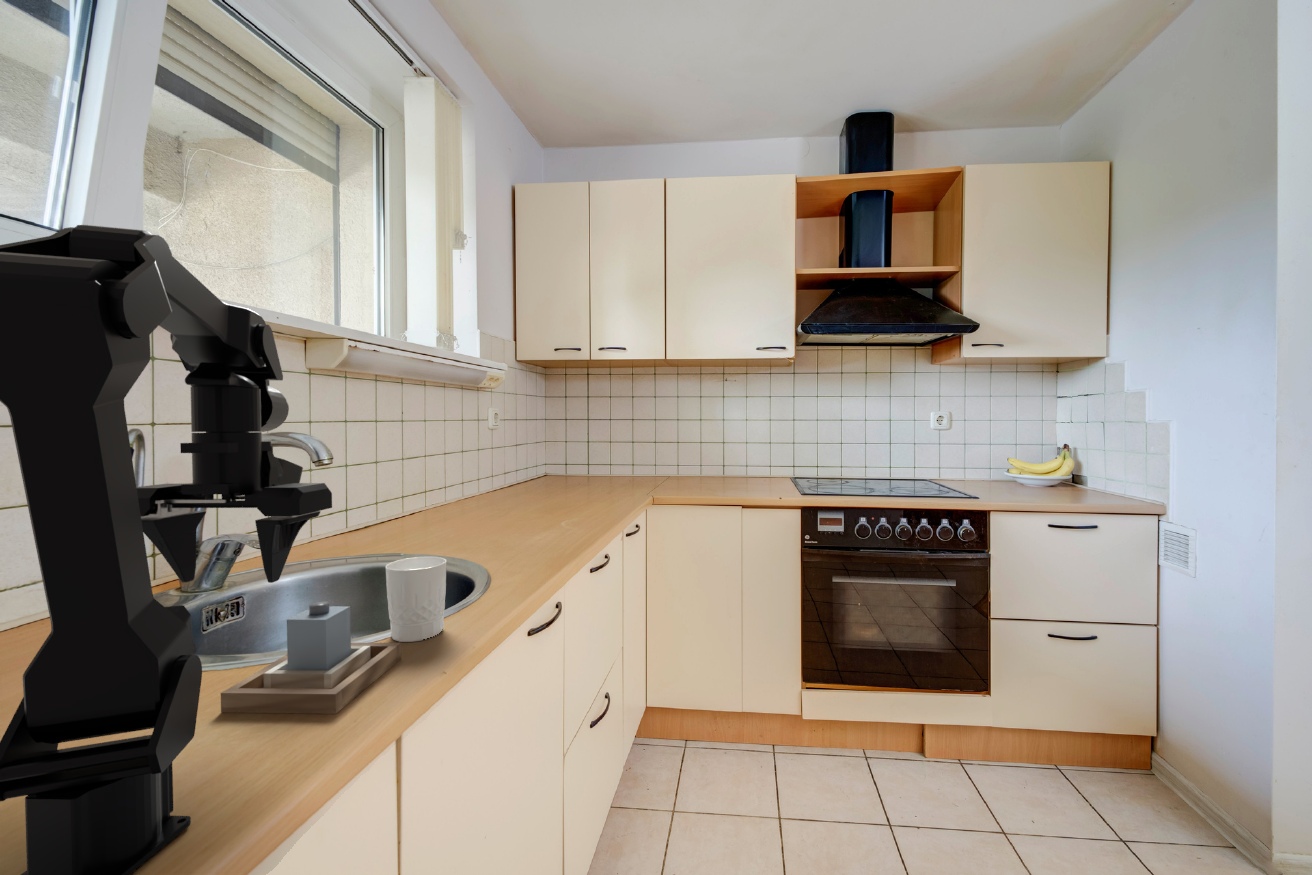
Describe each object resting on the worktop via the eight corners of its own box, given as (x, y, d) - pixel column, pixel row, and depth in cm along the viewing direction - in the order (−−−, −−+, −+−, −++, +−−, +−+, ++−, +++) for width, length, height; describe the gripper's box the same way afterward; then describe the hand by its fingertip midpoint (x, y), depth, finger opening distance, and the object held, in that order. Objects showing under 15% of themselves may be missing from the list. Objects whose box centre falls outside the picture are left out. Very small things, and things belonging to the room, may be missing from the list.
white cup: (415, 620, 81) (414, 554, 81) (459, 626, 79) (458, 558, 78) (373, 640, 74) (372, 567, 73) (420, 647, 71) (419, 572, 71)
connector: (326, 681, 60) (325, 610, 60) (287, 681, 61) (286, 610, 60) (351, 664, 65) (349, 598, 65) (314, 663, 65) (313, 598, 65)
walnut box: (335, 713, 55) (335, 693, 55) (221, 712, 55) (220, 691, 55) (401, 658, 68) (400, 642, 68) (307, 657, 68) (307, 641, 68)
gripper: (360, 431, 64) (362, 562, 64) (207, 432, 64) (210, 562, 65) (294, 432, 53) (297, 590, 53) (110, 433, 53) (114, 590, 54)
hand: (230, 581), depth 56 cm, fingers open, 9 cm apart
